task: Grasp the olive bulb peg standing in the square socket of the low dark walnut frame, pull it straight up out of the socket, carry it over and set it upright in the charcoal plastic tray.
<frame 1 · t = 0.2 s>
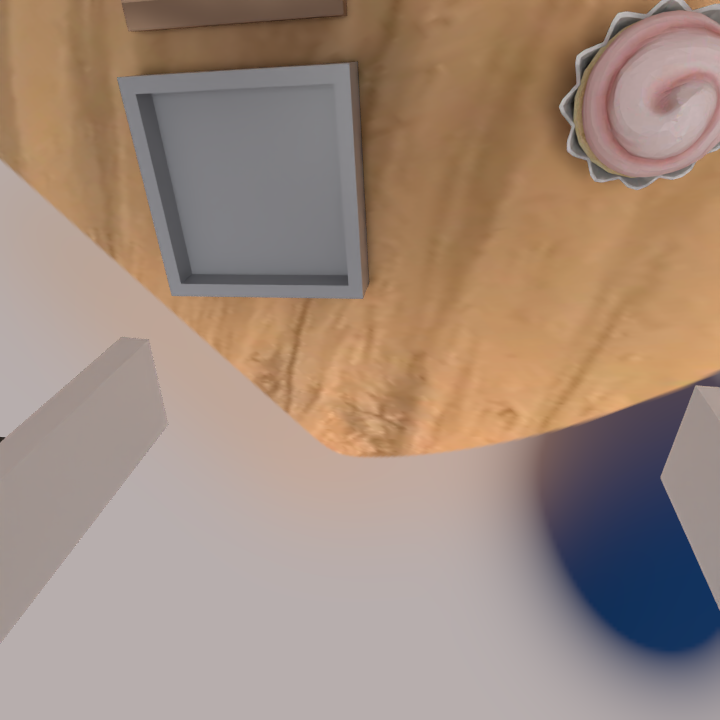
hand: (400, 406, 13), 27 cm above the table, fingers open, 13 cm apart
tray: (262, 185, 39), on the table
cupcake: (627, 92, 33), on the table
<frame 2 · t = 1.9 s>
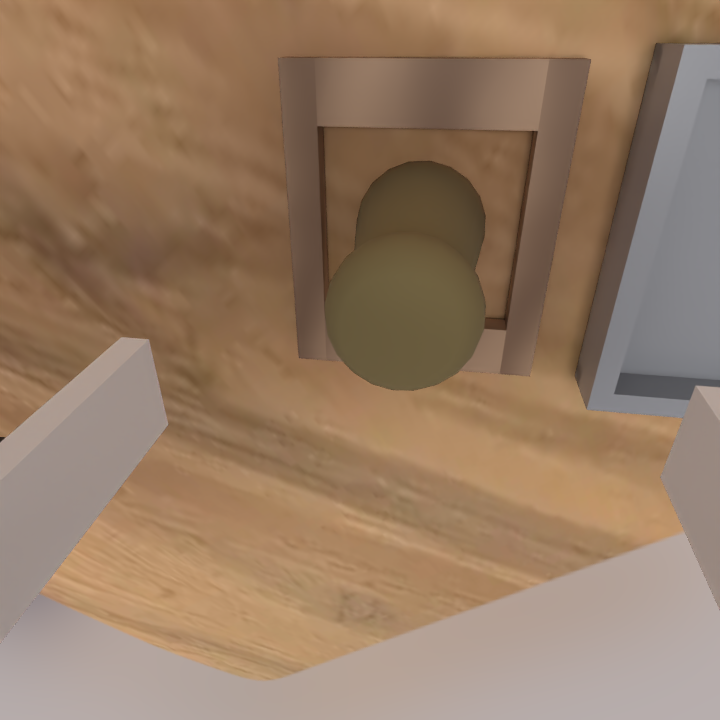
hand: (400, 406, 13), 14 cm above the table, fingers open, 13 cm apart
olive bulb peg: (420, 226, 26), resting in socket block
socket block: (420, 227, 25), on the table
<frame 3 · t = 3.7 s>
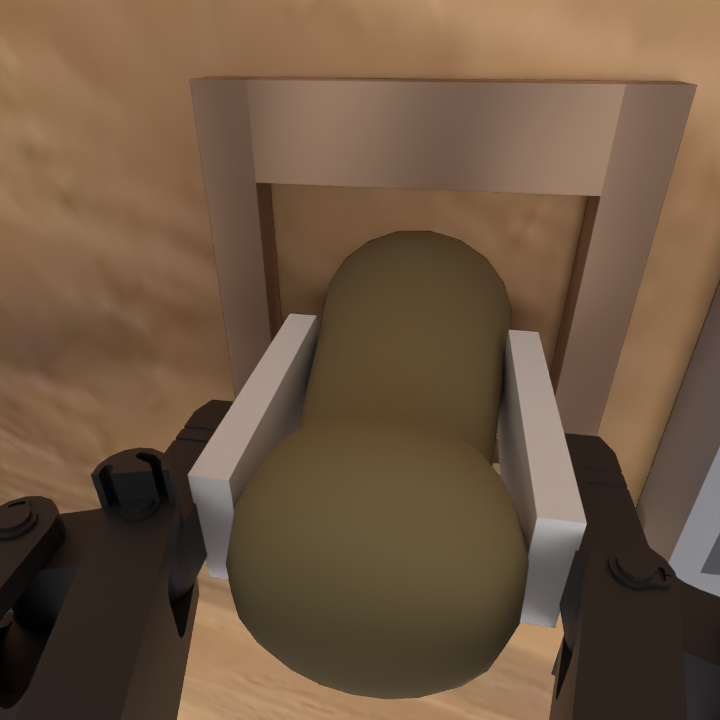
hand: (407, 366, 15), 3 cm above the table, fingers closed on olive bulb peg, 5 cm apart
olive bulb peg: (415, 319, 18), resting in socket block, touching gripper
socket block: (415, 322, 17), on the table
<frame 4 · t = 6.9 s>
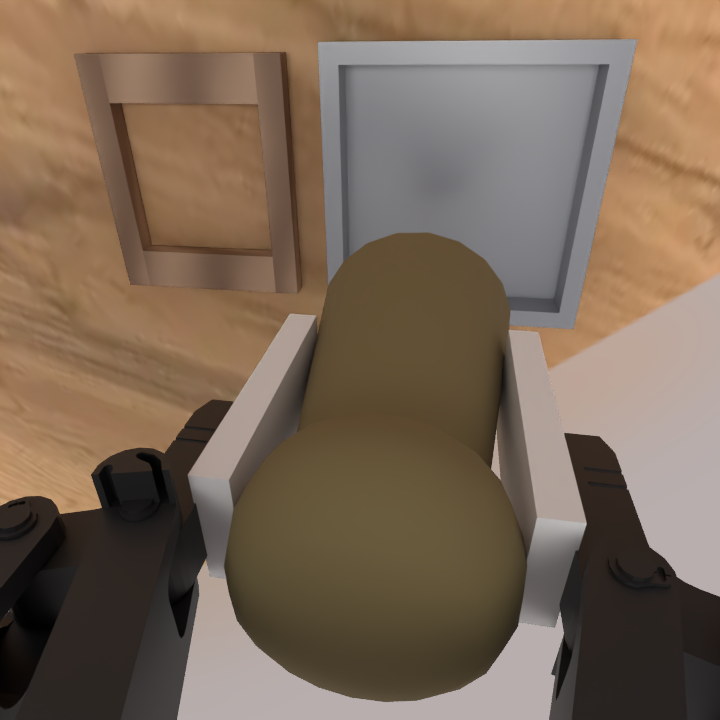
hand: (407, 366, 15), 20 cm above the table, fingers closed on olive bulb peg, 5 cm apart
olive bulb peg: (414, 320, 18), point 18 cm above the table, touching gripper
tray: (457, 186, 32), on the table
socket block: (202, 179, 34), on the table
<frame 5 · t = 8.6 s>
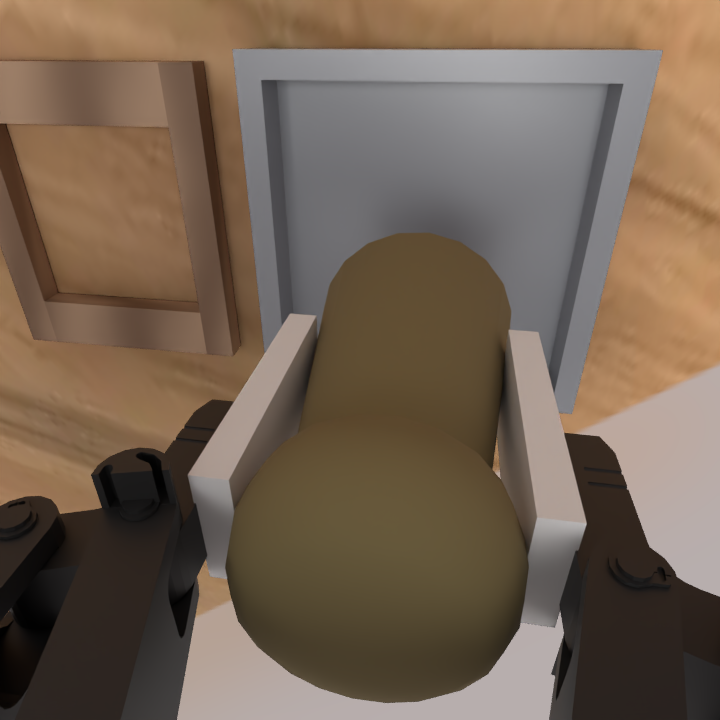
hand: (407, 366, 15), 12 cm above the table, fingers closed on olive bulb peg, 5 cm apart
olive bulb peg: (415, 320, 18), point 9 cm above the table, touching gripper
tray: (427, 232, 25), on the table
socket block: (112, 217, 28), on the table
when the fingers open (5 cm above the table, at t = 10.1 s): olive bulb peg drops 1 cm, resting on tray.
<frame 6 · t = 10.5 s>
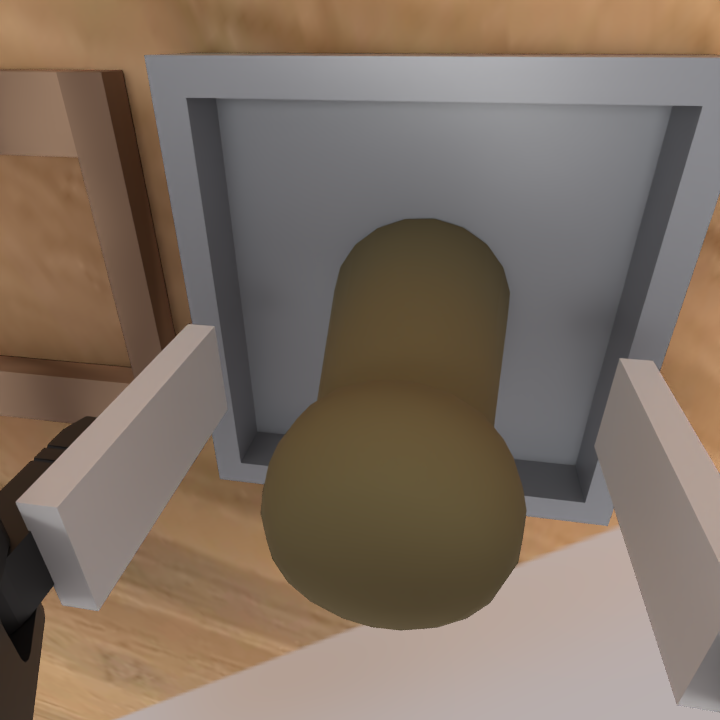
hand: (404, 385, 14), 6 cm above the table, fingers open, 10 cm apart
olive bulb peg: (420, 301, 19), point 1 cm above the table, touching tray
tray: (420, 291, 20), on the table
socket block: (24, 265, 22), on the table
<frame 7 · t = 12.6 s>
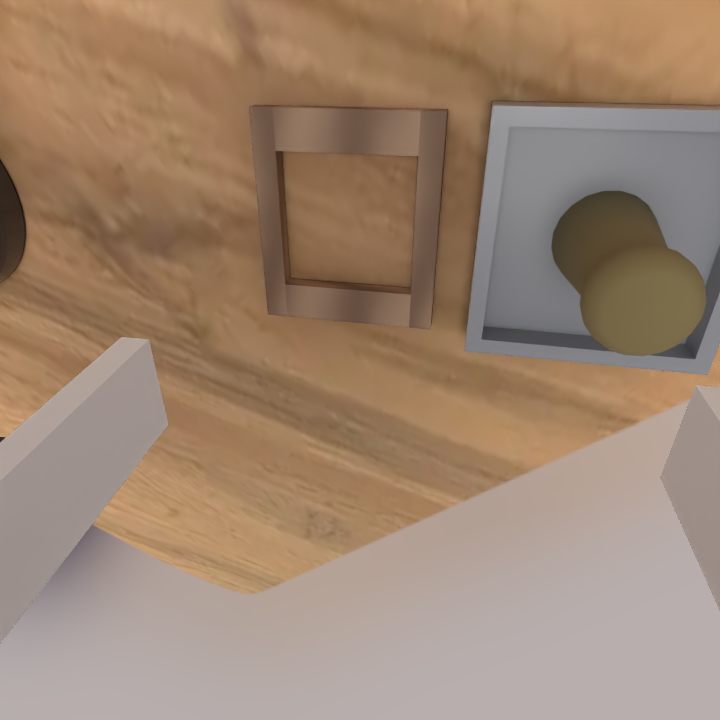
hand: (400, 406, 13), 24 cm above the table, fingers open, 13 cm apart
olive bulb peg: (602, 239, 33), point 1 cm above the table, touching tray
tray: (599, 235, 34), on the table
socket block: (349, 220, 36), on the table
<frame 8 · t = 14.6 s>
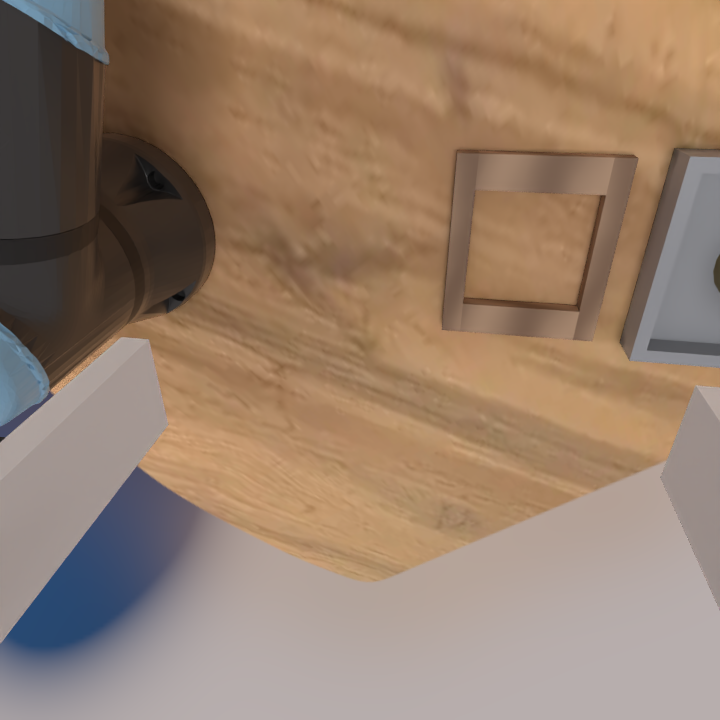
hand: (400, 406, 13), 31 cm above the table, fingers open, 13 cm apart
socket block: (527, 248, 42), on the table
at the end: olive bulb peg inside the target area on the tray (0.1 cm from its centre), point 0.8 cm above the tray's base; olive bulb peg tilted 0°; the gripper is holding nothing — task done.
